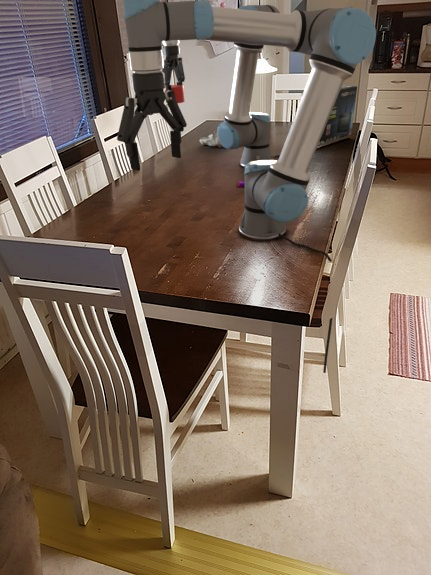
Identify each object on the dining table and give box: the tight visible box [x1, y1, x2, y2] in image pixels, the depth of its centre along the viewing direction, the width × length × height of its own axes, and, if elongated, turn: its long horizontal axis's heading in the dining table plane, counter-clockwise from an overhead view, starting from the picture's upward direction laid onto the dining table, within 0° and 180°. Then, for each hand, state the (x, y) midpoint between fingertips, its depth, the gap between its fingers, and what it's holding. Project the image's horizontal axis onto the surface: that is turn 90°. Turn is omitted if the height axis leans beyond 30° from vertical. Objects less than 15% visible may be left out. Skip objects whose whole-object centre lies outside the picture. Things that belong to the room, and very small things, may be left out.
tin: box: [164, 84, 186, 104], centre depth 218 cm, size 9×9×7 cm
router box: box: [300, 84, 358, 146], centre depth 238 cm, size 36×11×27 cm, turn 134°
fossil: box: [199, 129, 224, 148], centre depth 250 cm, size 18×11×15 cm
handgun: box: [237, 180, 245, 187], centre depth 182 cm, size 21×8×2 cm, turn 11°
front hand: (156, 163), depth 117 cm, fingers open, 13 cm apart
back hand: (175, 98), depth 218 cm, fingers closed on tin, 9 cm apart
